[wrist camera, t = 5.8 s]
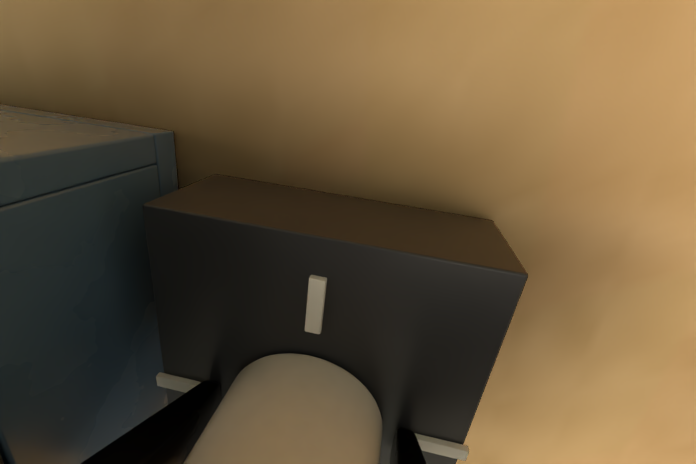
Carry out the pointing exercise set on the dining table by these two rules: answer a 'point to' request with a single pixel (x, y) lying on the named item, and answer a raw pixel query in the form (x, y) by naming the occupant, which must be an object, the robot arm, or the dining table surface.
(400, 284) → the control block
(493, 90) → the dining table surface
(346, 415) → the dial
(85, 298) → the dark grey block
